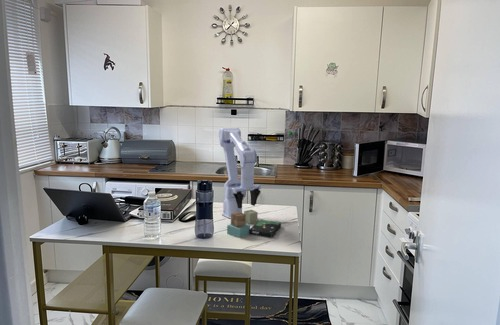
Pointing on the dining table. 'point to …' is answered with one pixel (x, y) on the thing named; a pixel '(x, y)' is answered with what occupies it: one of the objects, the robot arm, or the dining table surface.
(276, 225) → the disk drive
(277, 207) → the dining table surface
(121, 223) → the dining table surface
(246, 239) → the dining table surface
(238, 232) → the teal block
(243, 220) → the walnut block
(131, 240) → the dining table surface
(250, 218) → the olive block
